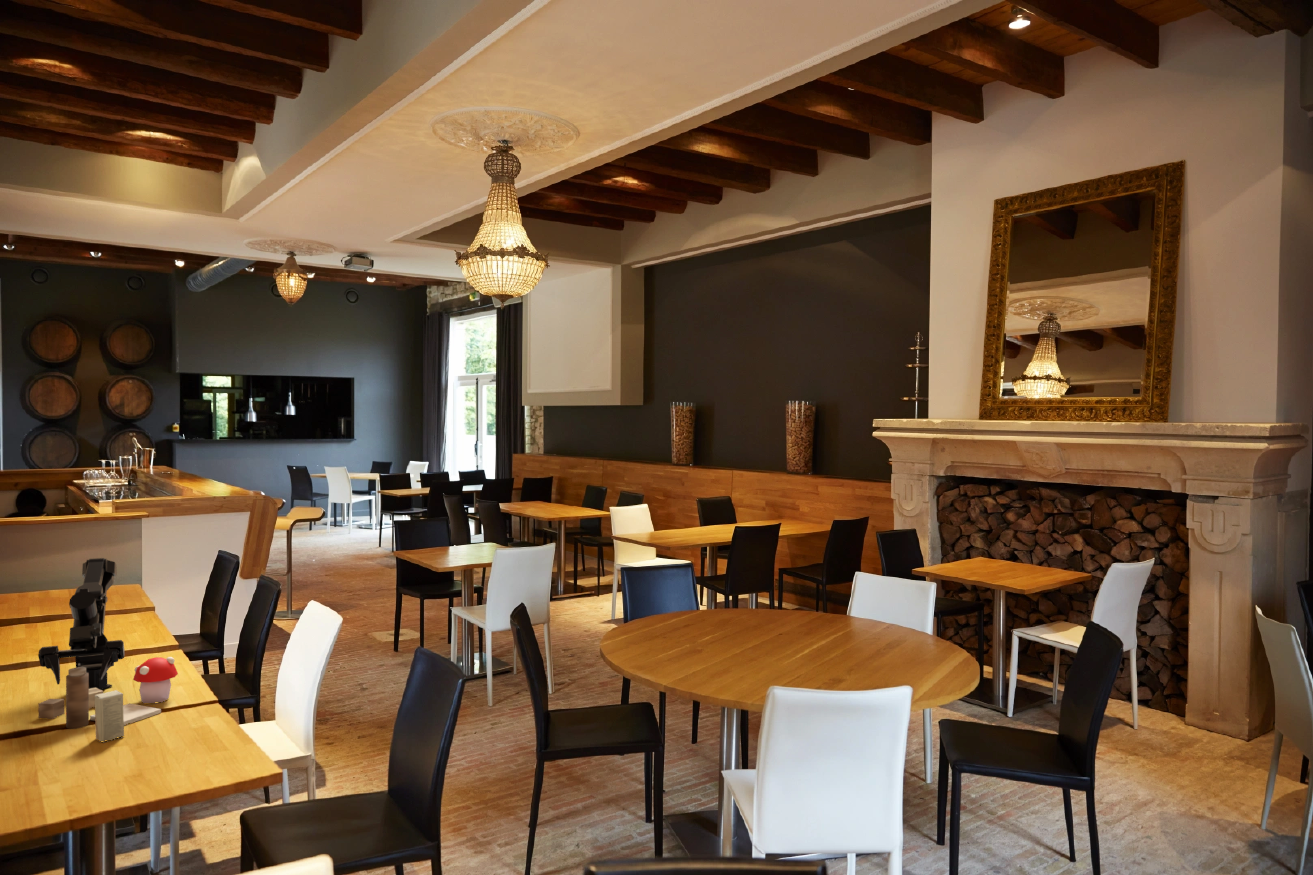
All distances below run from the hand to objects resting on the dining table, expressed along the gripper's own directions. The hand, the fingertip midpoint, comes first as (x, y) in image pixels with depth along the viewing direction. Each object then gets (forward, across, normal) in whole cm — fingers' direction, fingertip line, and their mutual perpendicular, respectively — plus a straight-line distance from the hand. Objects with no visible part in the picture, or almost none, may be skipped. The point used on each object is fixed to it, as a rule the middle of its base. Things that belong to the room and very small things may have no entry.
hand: (79, 681), depth 223 cm
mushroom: (0, +16, +15) cm, 23 cm away
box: (+20, +8, -5) cm, 22 cm away
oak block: (-2, +1, +17) cm, 17 cm away
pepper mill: (+10, 0, +5) cm, 11 cm away
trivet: (+8, +10, +7) cm, 15 cm away
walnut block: (+2, -7, +13) cm, 15 cm away
